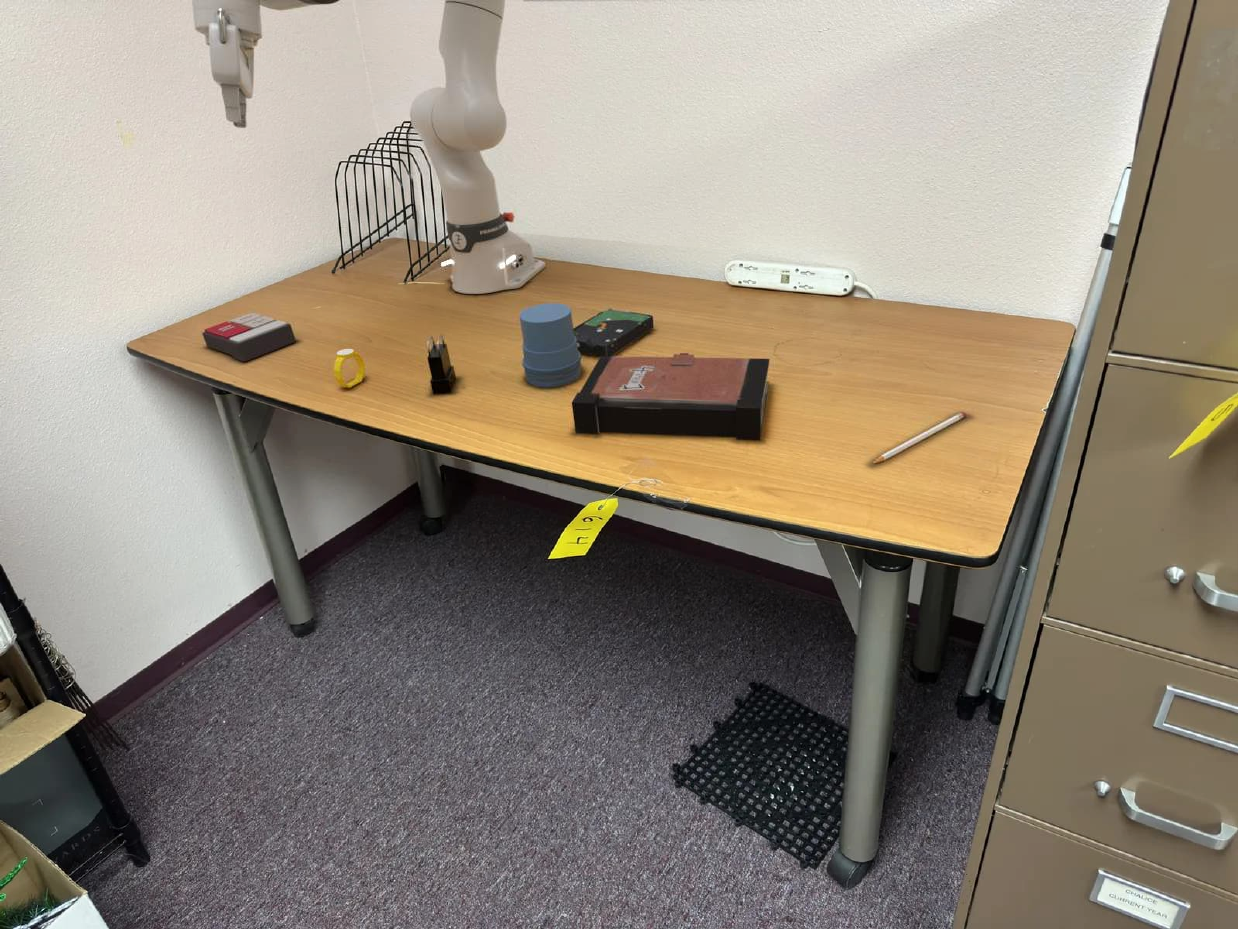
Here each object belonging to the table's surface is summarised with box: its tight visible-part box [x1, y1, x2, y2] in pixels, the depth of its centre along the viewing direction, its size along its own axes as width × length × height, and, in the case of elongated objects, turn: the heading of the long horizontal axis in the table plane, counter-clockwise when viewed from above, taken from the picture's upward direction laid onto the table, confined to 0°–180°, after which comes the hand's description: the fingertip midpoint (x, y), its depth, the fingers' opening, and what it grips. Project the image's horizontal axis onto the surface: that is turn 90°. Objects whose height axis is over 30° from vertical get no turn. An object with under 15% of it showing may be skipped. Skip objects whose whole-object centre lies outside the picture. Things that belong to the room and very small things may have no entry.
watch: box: [333, 348, 366, 389], centre depth 137 cm, size 6×3×6 cm, turn 156°
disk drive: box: [573, 308, 654, 358], centre depth 145 cm, size 10×3×15 cm
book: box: [571, 352, 771, 442], centre depth 120 cm, size 26×18×5 cm
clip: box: [426, 333, 457, 395], centre depth 132 cm, size 5×3×8 cm, turn 0°
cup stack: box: [518, 302, 582, 388], centre depth 132 cm, size 10×10×11 cm
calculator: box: [201, 312, 297, 363], centre depth 158 cm, size 11×4×15 cm
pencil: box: [873, 411, 967, 464], centre depth 108 cm, size 1×19×1 cm, turn 125°
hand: (237, 124), depth 121 cm, fingers open, 8 cm apart
